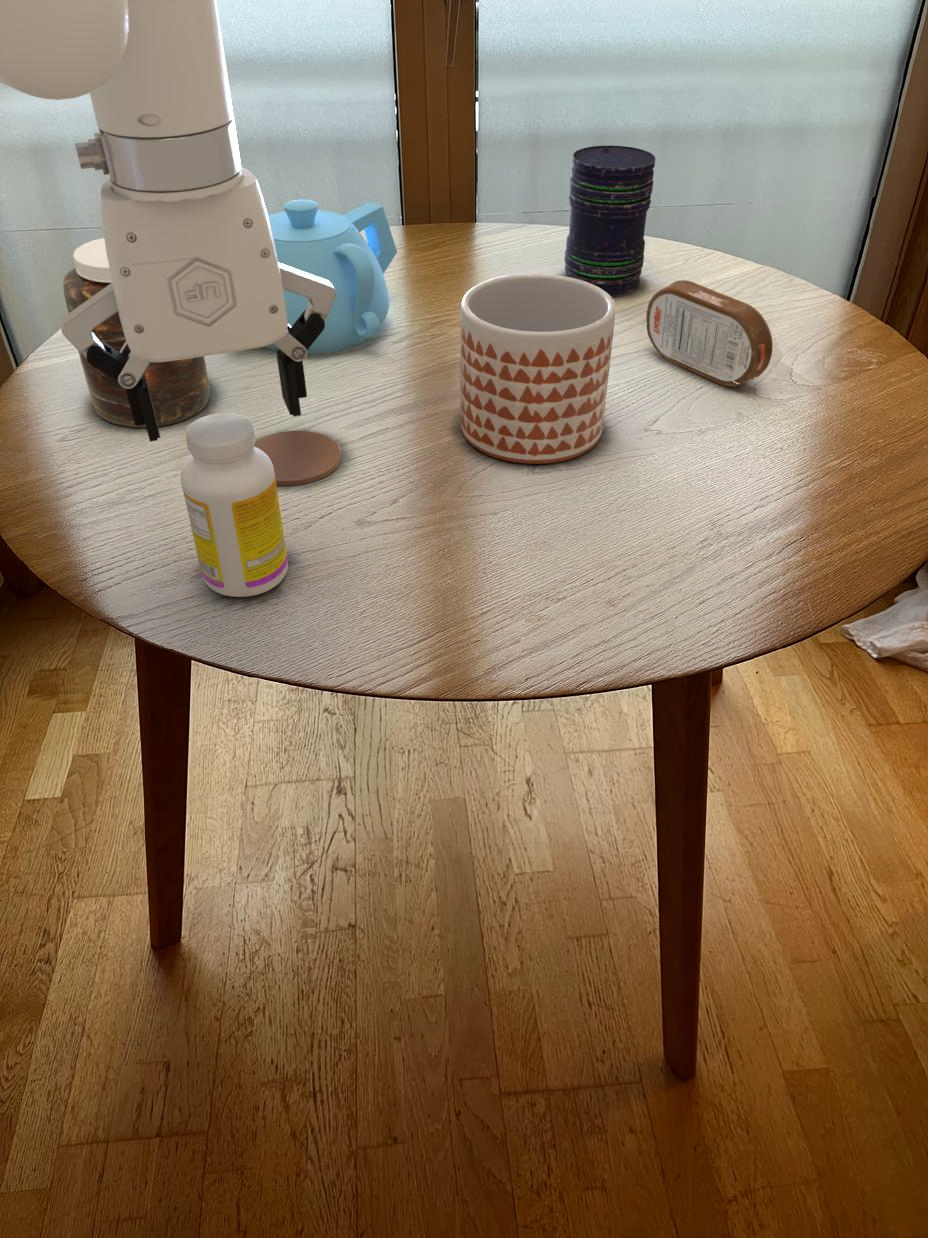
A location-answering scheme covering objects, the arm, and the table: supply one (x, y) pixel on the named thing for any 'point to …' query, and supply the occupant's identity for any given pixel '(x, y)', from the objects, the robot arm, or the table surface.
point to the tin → (709, 333)
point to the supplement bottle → (233, 507)
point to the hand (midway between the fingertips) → (223, 419)
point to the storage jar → (609, 216)
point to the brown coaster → (300, 456)
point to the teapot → (337, 267)
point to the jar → (170, 383)
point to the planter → (535, 366)
